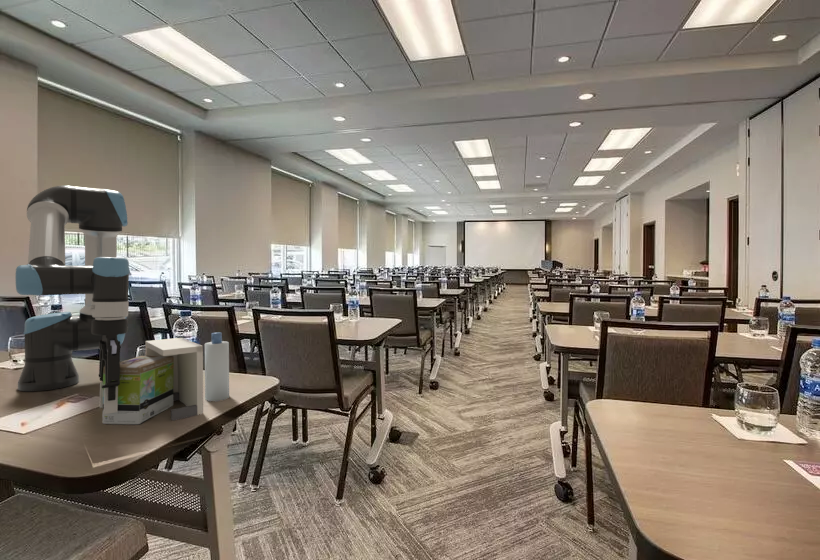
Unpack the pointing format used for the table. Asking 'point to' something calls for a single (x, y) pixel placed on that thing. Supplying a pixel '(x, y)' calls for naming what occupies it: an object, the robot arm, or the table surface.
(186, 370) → the shelf
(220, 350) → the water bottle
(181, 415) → the rails
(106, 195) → the robot arm
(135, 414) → the tea box
